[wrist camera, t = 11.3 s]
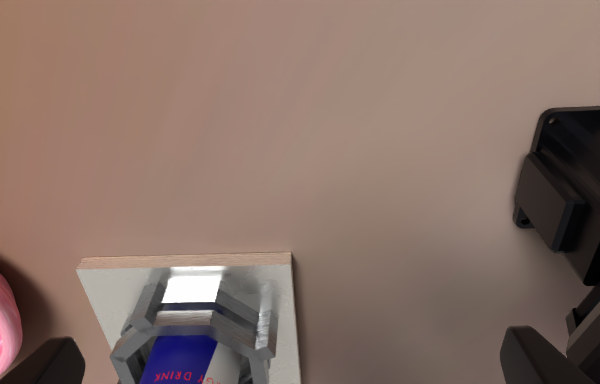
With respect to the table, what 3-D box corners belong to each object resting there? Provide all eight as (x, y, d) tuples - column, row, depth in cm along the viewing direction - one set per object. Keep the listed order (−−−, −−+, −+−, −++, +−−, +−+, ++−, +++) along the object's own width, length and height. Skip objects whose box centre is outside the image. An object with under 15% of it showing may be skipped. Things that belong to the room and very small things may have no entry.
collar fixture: (290, 252, 25) (288, 300, 22) (301, 379, 31) (300, 430, 28) (83, 257, 25) (52, 305, 22) (136, 381, 32) (118, 431, 29)
